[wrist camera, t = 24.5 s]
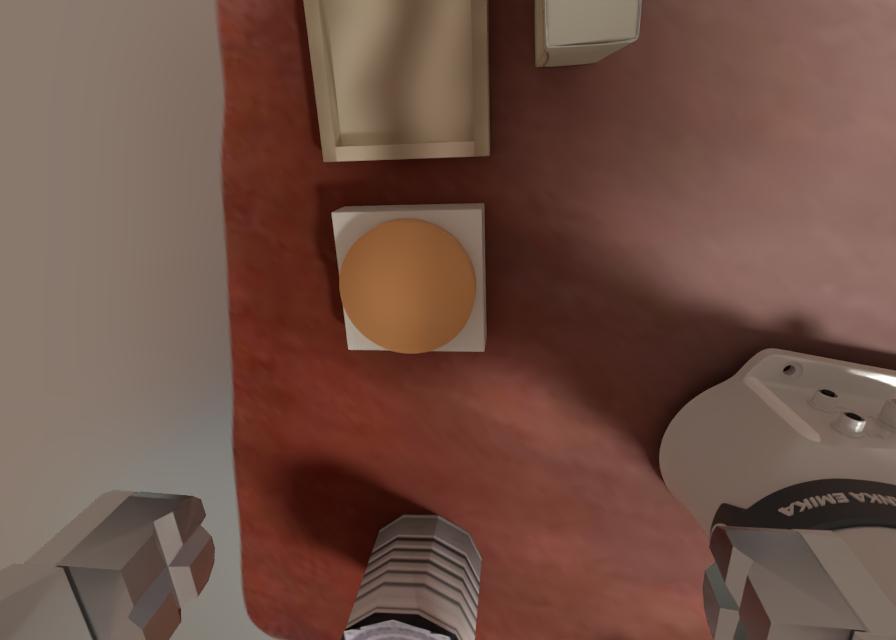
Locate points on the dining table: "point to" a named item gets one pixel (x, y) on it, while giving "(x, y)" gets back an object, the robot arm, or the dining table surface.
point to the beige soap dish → (400, 78)
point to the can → (418, 583)
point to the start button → (408, 285)
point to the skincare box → (583, 30)
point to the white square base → (453, 218)
